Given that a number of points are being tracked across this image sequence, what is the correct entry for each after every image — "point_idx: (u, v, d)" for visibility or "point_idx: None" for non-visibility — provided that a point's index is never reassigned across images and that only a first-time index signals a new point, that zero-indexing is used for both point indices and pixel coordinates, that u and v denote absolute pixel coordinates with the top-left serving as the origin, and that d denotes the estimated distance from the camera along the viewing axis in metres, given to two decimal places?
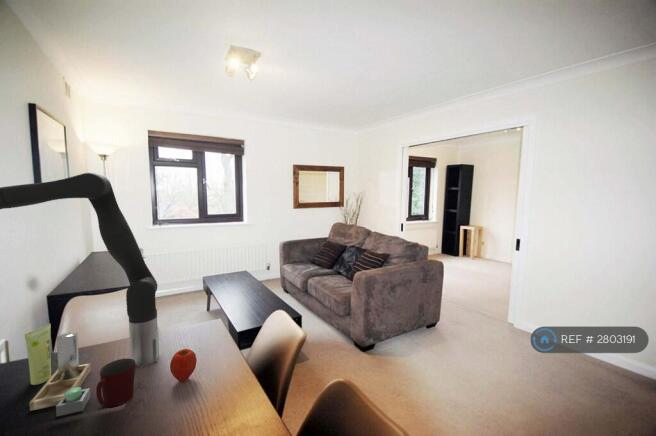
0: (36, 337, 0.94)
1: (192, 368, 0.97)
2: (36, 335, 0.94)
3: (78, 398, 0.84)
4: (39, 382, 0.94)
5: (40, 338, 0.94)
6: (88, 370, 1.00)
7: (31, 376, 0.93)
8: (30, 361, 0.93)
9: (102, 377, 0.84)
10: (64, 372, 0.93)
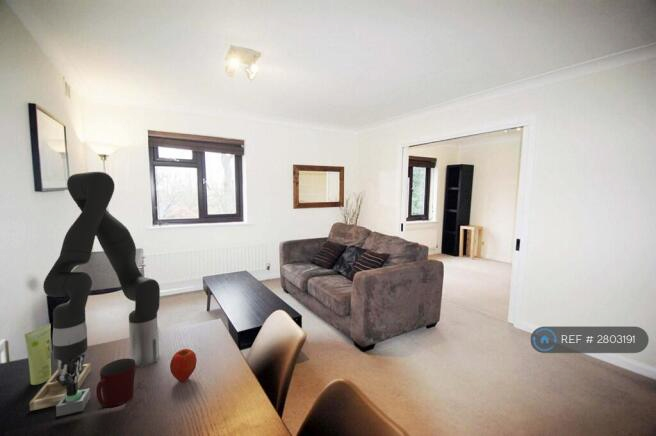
0: (36, 337, 0.94)
1: (192, 368, 0.97)
2: (36, 335, 0.94)
3: None
4: (39, 382, 0.94)
5: (40, 338, 0.94)
6: (88, 370, 1.00)
7: (31, 376, 0.93)
8: (30, 361, 0.93)
9: (102, 377, 0.84)
10: None
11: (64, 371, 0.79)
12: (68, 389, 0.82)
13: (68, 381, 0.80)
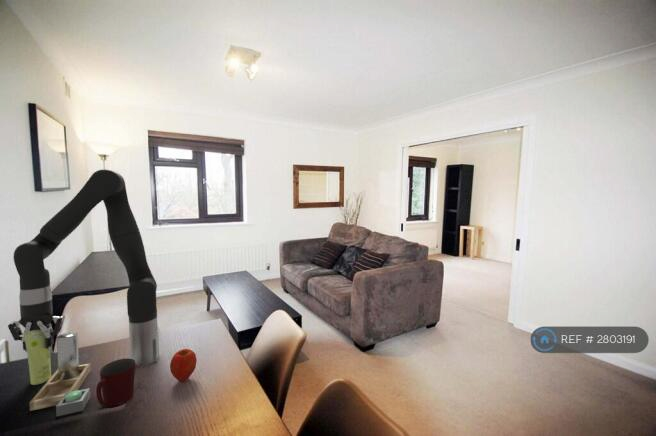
0: (36, 337, 0.93)
1: (192, 368, 0.97)
2: (35, 335, 0.94)
3: None
4: (39, 382, 0.94)
5: (39, 338, 0.94)
6: (88, 370, 1.00)
7: (31, 376, 0.93)
8: (30, 361, 0.93)
9: (102, 377, 0.84)
10: (64, 372, 0.93)
11: (16, 321, 0.92)
12: None
13: None
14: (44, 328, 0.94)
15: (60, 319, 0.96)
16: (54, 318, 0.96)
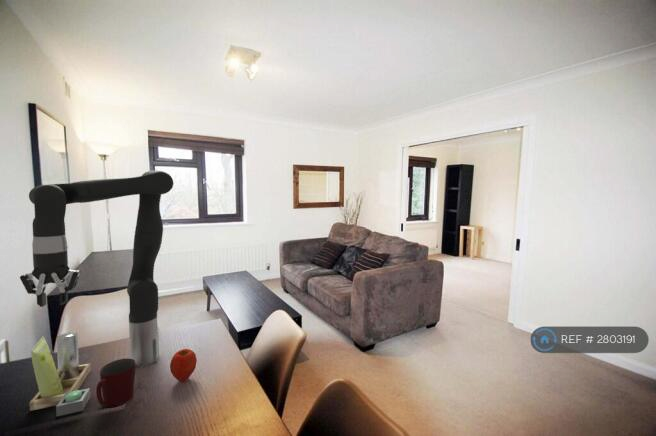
0: (41, 351, 0.83)
1: (192, 368, 0.97)
2: (40, 349, 0.83)
3: None
4: (56, 394, 0.87)
5: (44, 351, 0.84)
6: (88, 370, 1.00)
7: (45, 392, 0.85)
8: (42, 377, 0.83)
9: (102, 377, 0.84)
10: (64, 372, 0.93)
11: (29, 273, 0.83)
12: None
13: None
14: (59, 281, 0.85)
15: (76, 273, 0.87)
16: (70, 271, 0.87)
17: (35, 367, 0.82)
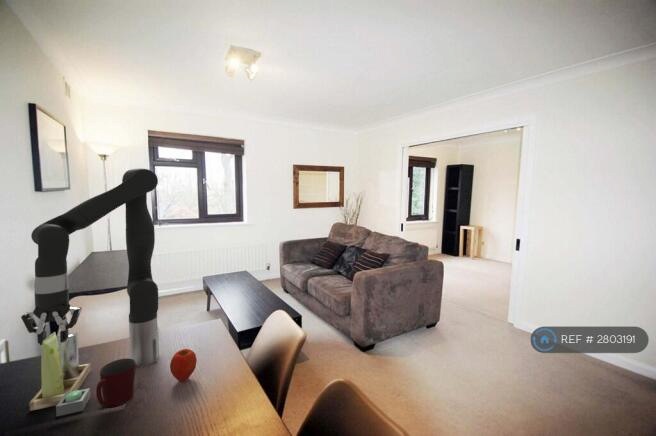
0: (51, 344, 0.87)
1: (192, 368, 0.97)
2: (50, 342, 0.87)
3: None
4: (57, 393, 0.87)
5: (54, 345, 0.88)
6: (88, 370, 1.00)
7: (47, 389, 0.85)
8: (47, 372, 0.85)
9: (102, 377, 0.84)
10: (64, 372, 0.93)
11: (30, 312, 0.84)
12: None
13: None
14: (60, 320, 0.86)
15: (77, 311, 0.88)
16: (71, 309, 0.88)
17: (43, 360, 0.85)
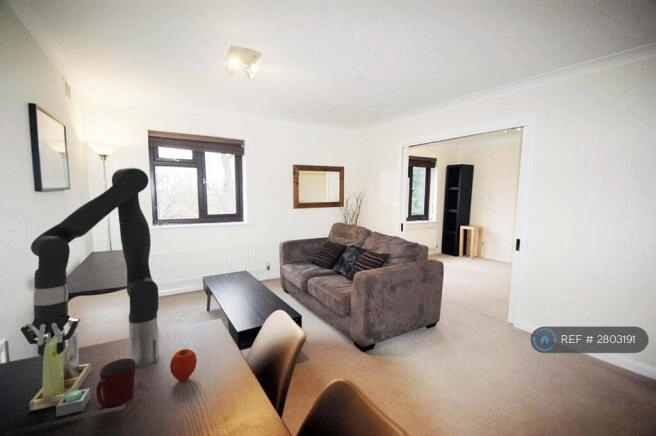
0: (54, 347, 0.86)
1: (192, 368, 0.97)
2: (53, 345, 0.86)
3: None
4: None
5: (56, 347, 0.87)
6: (88, 370, 1.00)
7: (48, 391, 0.85)
8: (49, 374, 0.85)
9: (102, 377, 0.84)
10: (64, 372, 0.93)
11: (29, 324, 0.84)
12: None
13: None
14: (58, 331, 0.86)
15: (76, 322, 0.88)
16: (69, 321, 0.88)
17: (45, 362, 0.84)
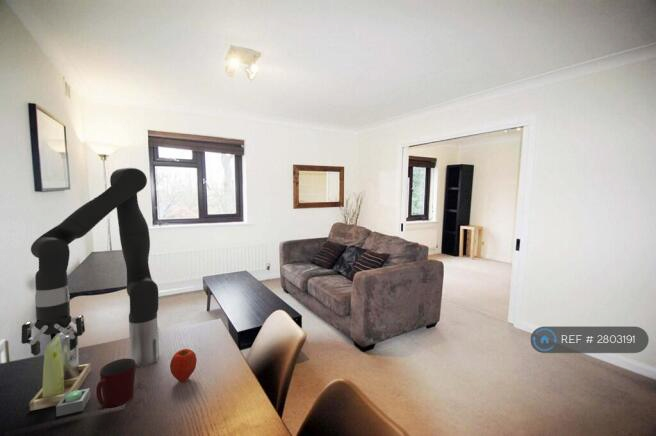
0: (54, 347, 0.85)
1: (192, 368, 0.97)
2: (54, 346, 0.85)
3: None
4: None
5: (57, 348, 0.86)
6: (88, 370, 1.00)
7: (48, 391, 0.85)
8: (49, 374, 0.84)
9: (102, 377, 0.84)
10: (64, 372, 0.93)
11: (32, 322, 0.85)
12: None
13: None
14: (64, 330, 0.87)
15: (78, 318, 0.88)
16: (72, 319, 0.88)
17: (45, 363, 0.84)
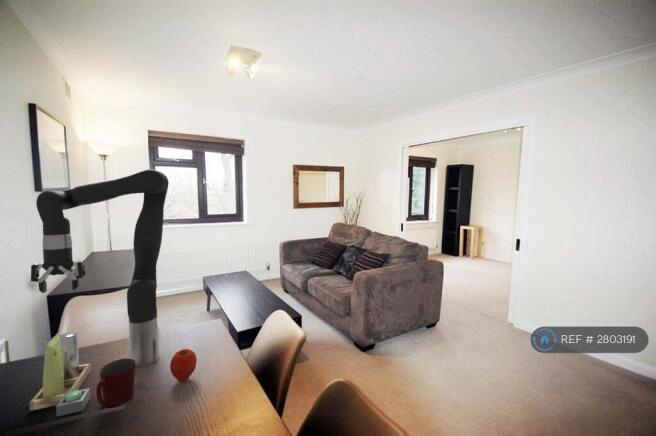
0: (55, 346, 0.86)
1: (192, 368, 0.97)
2: (54, 344, 0.86)
3: None
4: None
5: (57, 347, 0.87)
6: (88, 370, 1.00)
7: (48, 390, 0.85)
8: (49, 373, 0.85)
9: (102, 377, 0.84)
10: (64, 372, 0.93)
11: (40, 264, 0.98)
12: None
13: None
14: (67, 272, 1.00)
15: (80, 262, 1.02)
16: (74, 263, 1.02)
17: (46, 362, 0.84)
